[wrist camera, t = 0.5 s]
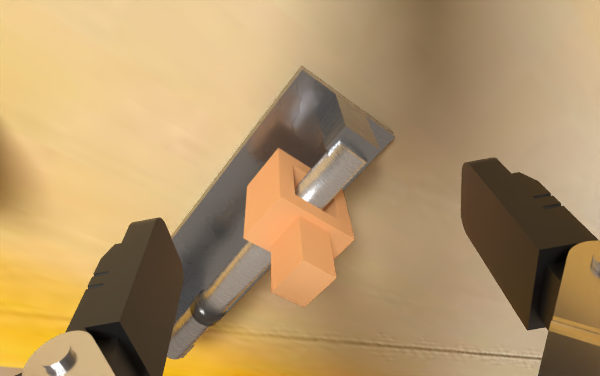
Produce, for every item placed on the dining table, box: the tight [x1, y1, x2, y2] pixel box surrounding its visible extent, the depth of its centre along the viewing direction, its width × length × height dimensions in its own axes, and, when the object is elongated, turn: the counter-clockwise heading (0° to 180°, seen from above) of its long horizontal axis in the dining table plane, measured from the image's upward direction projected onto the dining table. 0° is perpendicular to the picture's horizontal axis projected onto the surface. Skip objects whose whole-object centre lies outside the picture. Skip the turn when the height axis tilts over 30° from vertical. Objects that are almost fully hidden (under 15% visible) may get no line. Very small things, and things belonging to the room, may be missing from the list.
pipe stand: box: [167, 66, 395, 359], centre depth 35 cm, size 26×9×7 cm, turn 143°
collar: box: [243, 148, 355, 307], centre depth 29 cm, size 4×6×10 cm, turn 53°
